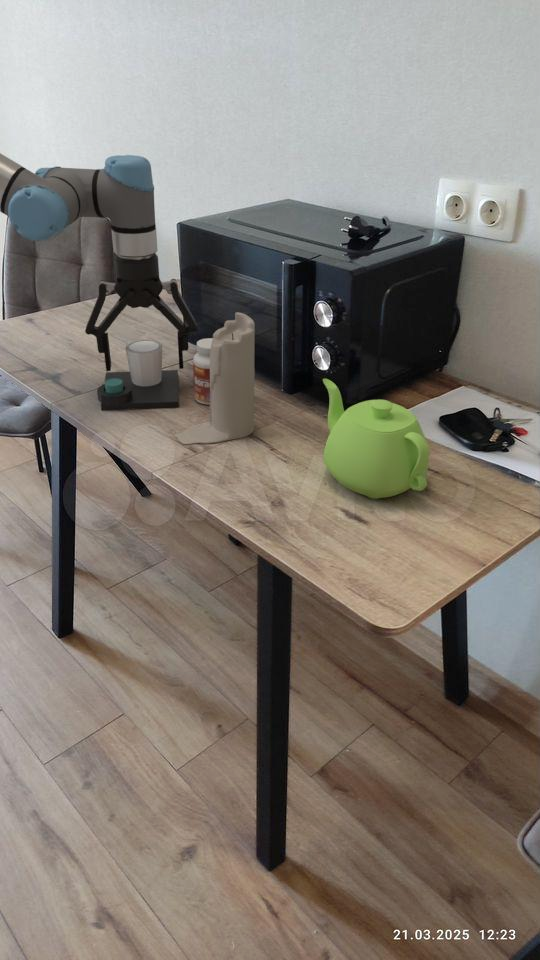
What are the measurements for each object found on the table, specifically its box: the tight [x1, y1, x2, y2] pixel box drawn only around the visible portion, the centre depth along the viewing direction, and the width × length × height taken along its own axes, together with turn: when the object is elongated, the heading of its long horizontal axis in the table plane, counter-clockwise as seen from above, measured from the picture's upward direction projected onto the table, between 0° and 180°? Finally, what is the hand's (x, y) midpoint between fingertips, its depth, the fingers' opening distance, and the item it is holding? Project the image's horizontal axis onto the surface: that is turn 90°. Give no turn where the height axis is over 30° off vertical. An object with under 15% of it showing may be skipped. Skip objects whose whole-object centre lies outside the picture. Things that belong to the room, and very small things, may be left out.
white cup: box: [125, 339, 163, 386], centre depth 133 cm, size 7×7×7 cm
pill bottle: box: [192, 337, 213, 406], centre depth 129 cm, size 6×6×11 cm
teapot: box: [322, 378, 431, 500], centre depth 107 cm, size 22×15×13 cm
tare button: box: [104, 378, 124, 394], centre depth 127 cm, size 3×3×2 cm
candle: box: [173, 311, 256, 445], centre depth 115 cm, size 7×14×20 cm, turn 115°
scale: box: [96, 369, 180, 411], centre depth 132 cm, size 14×14×3 cm
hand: (145, 367), depth 134 cm, fingers open, 13 cm apart
